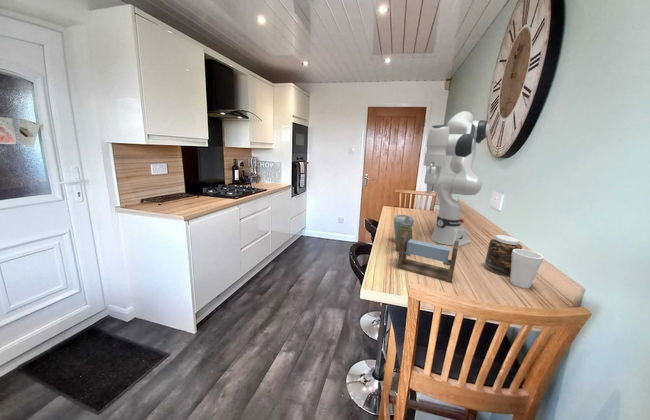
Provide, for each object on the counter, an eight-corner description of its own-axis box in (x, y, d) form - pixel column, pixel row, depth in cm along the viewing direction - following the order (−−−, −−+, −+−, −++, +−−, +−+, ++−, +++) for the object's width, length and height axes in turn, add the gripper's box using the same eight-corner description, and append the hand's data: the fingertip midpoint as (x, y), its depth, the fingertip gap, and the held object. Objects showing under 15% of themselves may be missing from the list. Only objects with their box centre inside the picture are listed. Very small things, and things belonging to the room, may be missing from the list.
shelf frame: (453, 272, 105) (458, 241, 102) (451, 282, 97) (457, 249, 94) (402, 260, 115) (406, 231, 112) (396, 268, 107) (400, 237, 104)
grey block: (448, 258, 103) (450, 247, 102) (447, 262, 99) (449, 250, 98) (408, 249, 110) (409, 239, 109) (406, 253, 107) (407, 242, 105)
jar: (515, 269, 112) (522, 237, 109) (517, 279, 103) (525, 245, 99) (484, 262, 119) (490, 232, 115) (483, 270, 109) (490, 238, 106)
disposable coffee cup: (414, 246, 135) (418, 219, 131) (395, 246, 133) (398, 218, 130) (405, 239, 145) (408, 214, 141) (387, 239, 143) (390, 213, 140)
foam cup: (509, 276, 105) (516, 247, 102) (537, 285, 99) (545, 254, 96) (502, 282, 99) (510, 252, 96) (532, 293, 93) (540, 260, 90)
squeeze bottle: (410, 248, 130) (415, 215, 126) (411, 254, 122) (416, 219, 118) (394, 246, 132) (398, 213, 128) (394, 252, 124) (399, 217, 120)
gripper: (439, 162, 102) (434, 196, 106) (444, 162, 120) (439, 191, 123) (423, 161, 105) (418, 194, 109) (430, 161, 123) (425, 189, 126)
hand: (429, 192), depth 116 cm, fingers open, 8 cm apart
